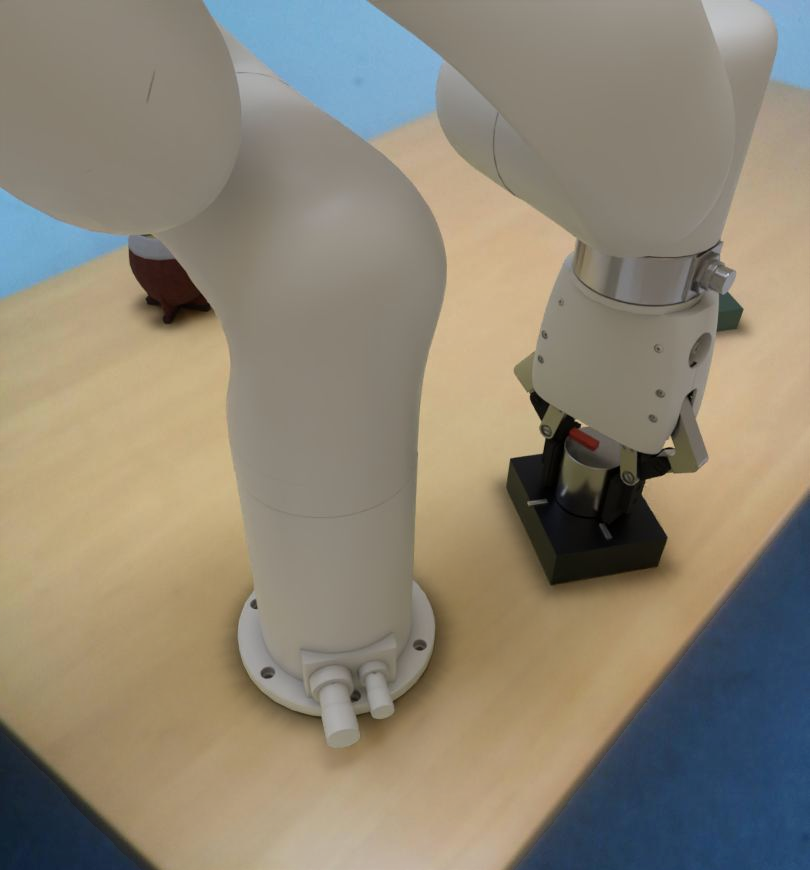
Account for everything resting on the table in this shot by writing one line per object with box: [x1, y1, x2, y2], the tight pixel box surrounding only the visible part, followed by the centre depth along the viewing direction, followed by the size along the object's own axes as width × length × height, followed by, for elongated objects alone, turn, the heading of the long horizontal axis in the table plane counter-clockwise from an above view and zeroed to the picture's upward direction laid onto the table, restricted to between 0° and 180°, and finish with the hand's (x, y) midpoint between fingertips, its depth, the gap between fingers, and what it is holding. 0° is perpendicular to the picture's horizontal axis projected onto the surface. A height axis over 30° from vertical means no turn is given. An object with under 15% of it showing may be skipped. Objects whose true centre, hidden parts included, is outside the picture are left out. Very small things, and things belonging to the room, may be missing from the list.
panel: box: [505, 452, 669, 586], centre depth 63 cm, size 10×9×3 cm
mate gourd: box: [127, 234, 212, 325], centre depth 77 cm, size 8×8×15 cm
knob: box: [555, 425, 620, 517], centre depth 60 cm, size 4×4×5 cm
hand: (586, 492), depth 61 cm, fingers closed on knob, 4 cm apart
